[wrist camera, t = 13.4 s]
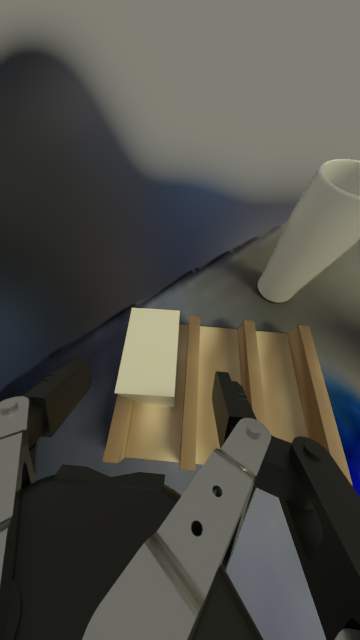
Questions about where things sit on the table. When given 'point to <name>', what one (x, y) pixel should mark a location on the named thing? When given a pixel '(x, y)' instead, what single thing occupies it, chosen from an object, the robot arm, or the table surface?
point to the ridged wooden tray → (257, 381)
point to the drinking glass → (315, 230)
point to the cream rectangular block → (150, 357)
